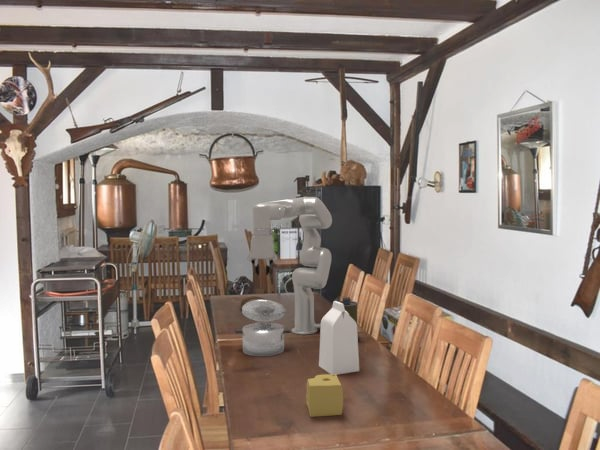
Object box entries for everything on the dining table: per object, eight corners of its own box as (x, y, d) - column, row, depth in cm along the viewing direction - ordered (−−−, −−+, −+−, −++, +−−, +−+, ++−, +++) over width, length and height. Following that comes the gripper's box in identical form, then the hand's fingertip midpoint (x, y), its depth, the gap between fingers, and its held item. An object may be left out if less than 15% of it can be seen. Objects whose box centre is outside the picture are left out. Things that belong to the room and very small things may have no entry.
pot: (292, 344, 244) (291, 322, 243) (289, 356, 226) (289, 333, 226) (239, 344, 245) (238, 322, 244) (233, 356, 227) (232, 333, 226)
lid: (286, 322, 244) (286, 316, 246) (283, 301, 229) (284, 295, 231) (244, 322, 245) (245, 316, 247) (239, 301, 229) (239, 295, 231)
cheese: (305, 404, 176) (305, 374, 175) (338, 403, 176) (338, 373, 176) (309, 417, 165) (308, 386, 165) (343, 416, 166) (343, 384, 165)
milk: (318, 365, 214) (318, 301, 212) (344, 362, 218) (344, 298, 217) (332, 375, 203) (332, 307, 201) (359, 371, 207) (359, 304, 206)
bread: (261, 305, 330) (261, 291, 329) (278, 318, 295) (278, 303, 295) (236, 307, 325) (236, 293, 324) (250, 321, 290) (250, 305, 290)
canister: (356, 343, 244) (356, 300, 242) (333, 342, 246) (333, 299, 245) (358, 337, 254) (358, 295, 253) (337, 336, 256) (336, 294, 255)
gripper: (281, 231, 237) (282, 273, 238) (244, 232, 237) (244, 273, 239) (280, 233, 229) (280, 276, 230) (241, 233, 230) (242, 276, 231)
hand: (262, 274), depth 234 cm, fingers open, 3 cm apart
